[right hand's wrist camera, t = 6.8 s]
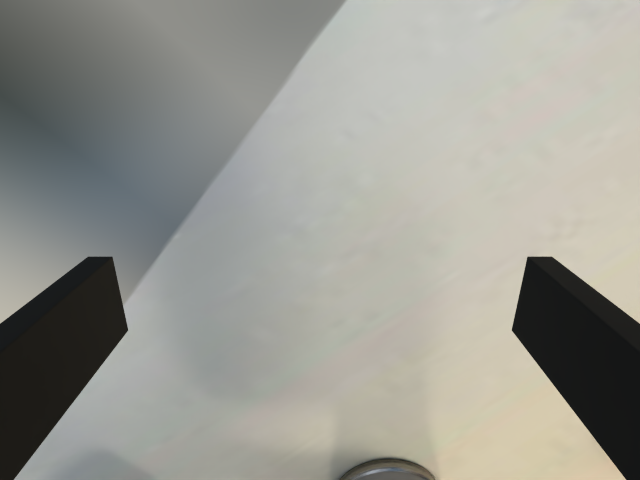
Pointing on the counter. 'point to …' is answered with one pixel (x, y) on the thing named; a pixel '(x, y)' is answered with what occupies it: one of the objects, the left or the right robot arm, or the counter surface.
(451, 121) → the counter surface
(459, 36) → the counter surface
